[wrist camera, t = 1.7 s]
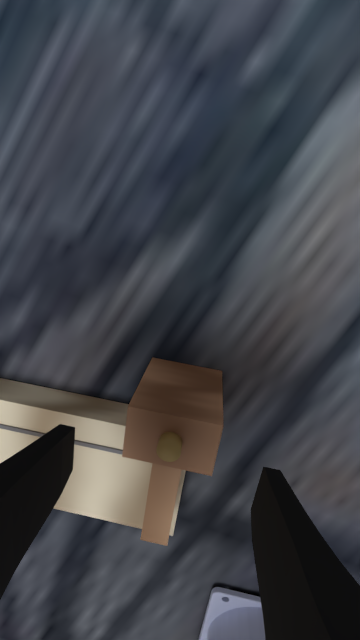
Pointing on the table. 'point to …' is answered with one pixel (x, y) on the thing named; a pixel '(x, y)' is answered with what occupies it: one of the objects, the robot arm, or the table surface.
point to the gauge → (173, 433)
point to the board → (81, 450)
